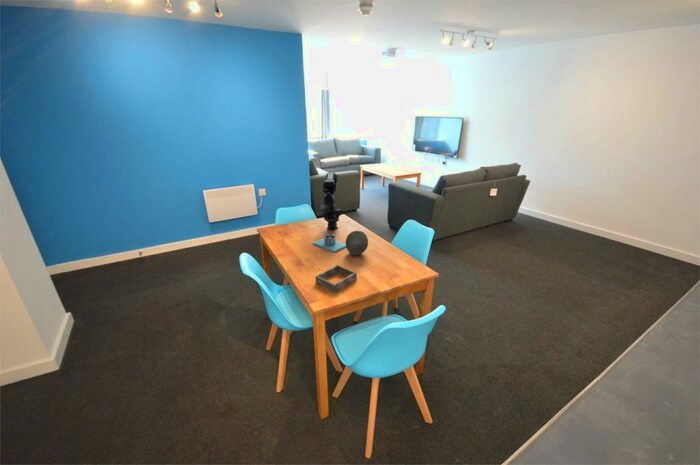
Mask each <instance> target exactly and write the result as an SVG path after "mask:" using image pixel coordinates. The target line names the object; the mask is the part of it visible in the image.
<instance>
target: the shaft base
mask: <svg viewBox="0 0 700 465" xmlns="http://www.w3.org/2000/svg"><path fill="white" fill-rule="evenodd" d="M329 238H331V237H329ZM312 245H315V246H317V247H320V248H322V249H325V250H327V251H330V252H332V253H337V252H339V251H342V250H343V249H345V248H346V243H343V242H341V241H338V240H335V245H333V246H327V245H325V243H324V237H322V238H320V239H318V240H314V241H312ZM346 249H347V248H346Z"/></svg>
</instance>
